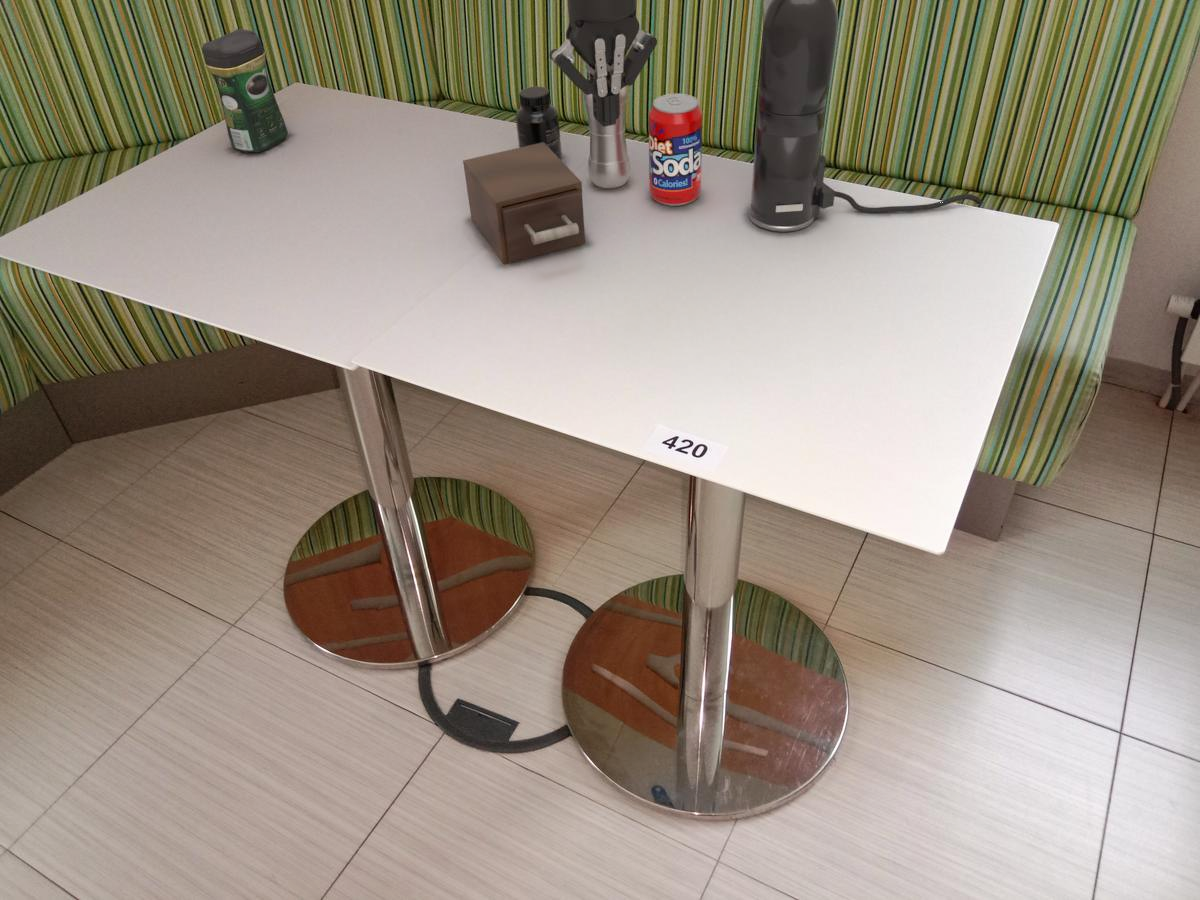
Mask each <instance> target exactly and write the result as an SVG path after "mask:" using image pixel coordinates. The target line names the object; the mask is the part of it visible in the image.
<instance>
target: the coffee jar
mask: <svg viewBox="0 0 1200 900" xmlns="http://www.w3.org/2000/svg"><path fill="white" fill-rule="evenodd" d="M201 51H202V54H203V59H204V63H205V67H206V69H207V71H208V72H209V74H211V76H212V77H213V80H214V82H215V85H216V88H217V92H218V95H219V100H220V103H221V107H222V111H223V116H224V121H225V125H226V126H225V127H226V130H227V134H228V138H229V141H230V142H229V143H230V145H231V146H232V148H234V149H235V150H237V151H239V152H241V153H245V154H246V153H247V154H248V153H261V152H263V151H265V150H269V149H270V148H272V147H274V146H275V145H277V144H279V143H281V142H282V141H283V140H285V139H286V138H287V137H288V128H287V125H286V123H285V119H284V117H283V114H282V111H281V110H280V107H279V105H278V102H277V99H276V96H275V93H274V90H273V88H272V85H271V82H270V79H269V75H268V71H267V64H266V52H265V49H264V47H263V45H262V42H261V39H260V37H259V36H258V34H257V33H256V32H255V31H253V30H248V29H243V28H236V29H235V30H233V31H230V32H229V33H226V34H223V35H222V36H220V37H218V38H215V39H213V40H210V41H207V42H204V43H203V45H202V47H201Z"/></svg>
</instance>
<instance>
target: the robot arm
mask: <svg viewBox="0 0 1200 900" xmlns="http://www.w3.org/2000/svg"><path fill="white" fill-rule="evenodd" d="M762 5H763V6H762V24H763V25H762V36H761V37H762V39H761V52H760V53H761V54H760V69H759V79H758V81H759V82H758V86H757V87H758V88H757V102H756V103H757V104H756V119H755V135H754V151H753V164H752V166H753V167H752V181H751V198H750V208H749V219H750V221H751V222H752V223H753V224H754V225H756V226H757V227H759V228H761V229H764V230H768V231H771V232H785V233H786V232H787V233H788V232H795V231H800V230H802V229H805V228H807V227H809V226H810V225H811V224H812V223H813V221H814V220H817V219H819V218H820V213H821V209H822V210H823V209H827V208H830V207H834V203H835V198H839V199H843V200H845V201H847V202H848V203H849V204H850V206H851V207H852V208H853V209H855V210H856V211H859V212H862V213H867V214H879V213H880V214H881V213H892V212H893V213H894V212H896V213H897V212H899V213H900V212H917V211H918V212H919V211H927V210H934V209H938V208H941V207H944V206H947V205H949V204H952V203H955V202H958V201H962V200H969V201H971V202H974V203H976V204H978V205H983V204H984V202H983V200H982V199H981V198H980V197H978V196H976V195H974V194H972V193H962V194H958V195H954V196H952V197H949V198H946V199H943V200H941V201H937V202H933V203H927V204H926V203H925V204H917V205H896V206H895V205H894V206H879V207H869V206H864V205H860V204H859V203H857V202H856V200H855V199H854V198H853V197H852V196H851V195H849V194H846V193H844V192H841V191H837V190H834V189H833V188H832V187H830V186H829V185H827V183H825V182H824V178H825V170H826V163H827V158H826V156H825V155H824V154H823V153H822V145H823V134H824V125H825V117H826V106H827V102H828V101H827V100H828V93H829V90H830V86H831V81H832V74H833V67H834V60H835V51H836V43H837V36H838V35H837V34H838V25H839V14H838V7H837V3H836V0H763V4H762ZM636 9H637V0H567V13H568V26H567V28H566V32H565V38H566V39H565V41H564V42H563V43H562V44H561V45H560V46H559V48H558V49H557V48H553V49H551V50H550V52H549V59H550V60H551V61H552V62H553V63H554V64H555V65H556V66H557V68H558V69H560V70H561V71H562V72H563V74H564V75H565V76H566V77H567V78H568V79H569V80H570V81H571V82H572V83H573V84H574V85H575V87H577V89H578V90H581V92H582V93H583V92H584V93H585V94H586V95H590V94H592V98H593V115H594V117H595V119H596V120H597V121H598V122H599V123H600V124H601V125H602V126H603V127H606V126H610V125H615V124H616V119H619V115H620V102H619V93H620V90H621V89H622V88H623V87H625V86H626V87H627V86H628V87H629V86H632V85H633V84H634V83H635V81H636V80H637V78H638V77H639V75H640V73H641V72H642V70H643V68H644V67H645V65H646V63H647V61H648V60H649V58H650V57H651V55H652V53H653V52H654V50H655V48H656V47H657V45H658V39H657V38H656V37H655V36H653V35H652V34H650V32H648V31H646V30H642V29H641V28H640V27H641V26H640V21H639V19H638V18H637V15H636V11H637V10H636ZM574 51H575V52H576V53H577V55H578V56H579V57H580V58H581V60H582V61H583V62H585V63H584V64H585V69H586V71H587V75H588V78H586V77H585V76H584V75H583V74H582V73H581V72H580V71H579V69H578V68H577V67H575V65H574V64H575V63H576V56H575V55H574ZM940 202H941V203H940ZM942 202H943V203H942Z"/></svg>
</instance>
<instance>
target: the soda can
mask: <svg viewBox="0 0 1200 900" xmlns="http://www.w3.org/2000/svg"><path fill="white" fill-rule="evenodd" d="M652 105H653V106H652V107H651V108H650V110H649V111H648V183H649V184H648V185H649V195H650V198H652V199H653V200H654V201H656V202H658V203H659V204H662V205H665V206H668V207H669V206H671V207H678V206H684V205H688V204H690V203H692V202H694V201H696V200H697V199H698V198H699V196H700V195H701V193H702V192H701V190H702V188H701V187H702V161H703V159H702V157H703V155H702V153H703V119H704V117H703V116H704V115H703V114H704V113H703V110H702V108H701V107H700V105H699V100H698V98H696V97H695V96H694V95H690V94H686V93H667V94H663V95H660V96H657V97H656V98H655V99H654V100H653V102H652Z"/></svg>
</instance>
